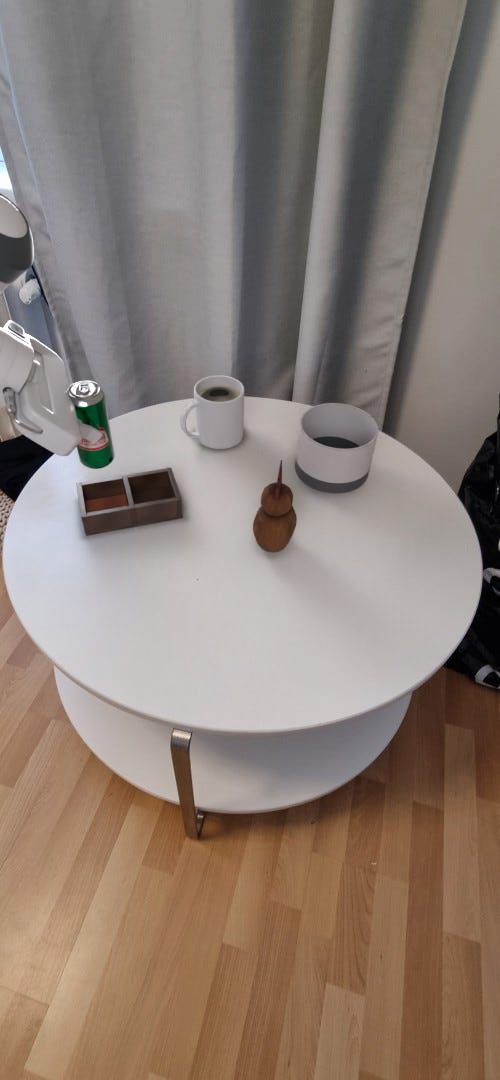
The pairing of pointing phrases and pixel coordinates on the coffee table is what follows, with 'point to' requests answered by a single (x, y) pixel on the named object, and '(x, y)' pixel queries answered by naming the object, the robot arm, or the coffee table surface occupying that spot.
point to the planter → (335, 447)
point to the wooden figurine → (275, 516)
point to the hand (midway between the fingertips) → (94, 422)
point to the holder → (129, 501)
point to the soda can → (92, 411)
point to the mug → (216, 412)
